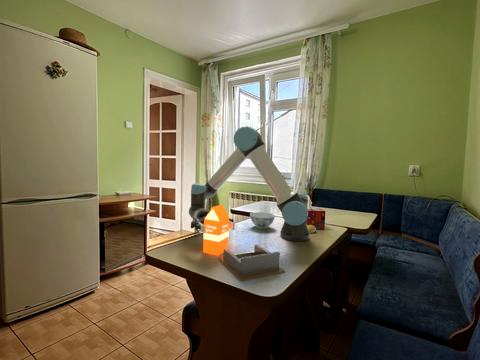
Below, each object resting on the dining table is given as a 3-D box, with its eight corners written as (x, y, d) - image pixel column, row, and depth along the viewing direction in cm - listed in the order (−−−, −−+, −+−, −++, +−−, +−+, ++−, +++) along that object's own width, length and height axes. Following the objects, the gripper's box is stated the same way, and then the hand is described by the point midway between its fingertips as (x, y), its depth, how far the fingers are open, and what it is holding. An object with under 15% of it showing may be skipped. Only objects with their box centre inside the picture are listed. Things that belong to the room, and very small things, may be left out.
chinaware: (278, 226, 155) (278, 214, 154) (268, 232, 142) (268, 218, 141) (256, 222, 163) (256, 211, 162) (245, 227, 150) (245, 215, 149)
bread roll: (302, 228, 154) (302, 222, 154) (317, 231, 149) (317, 224, 149) (297, 231, 147) (298, 224, 147) (312, 234, 142) (313, 227, 142)
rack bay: (218, 259, 101) (218, 242, 100) (256, 253, 109) (257, 237, 108) (240, 281, 83) (241, 261, 82) (284, 272, 91) (285, 254, 91)
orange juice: (202, 252, 108) (204, 206, 106) (213, 246, 116) (214, 203, 114) (218, 255, 104) (220, 208, 103) (228, 249, 112) (230, 205, 111)
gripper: (226, 222, 131) (244, 233, 112) (178, 226, 120) (190, 239, 101) (226, 208, 131) (245, 217, 112) (178, 211, 119) (190, 221, 100)
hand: (219, 228), depth 106 cm, fingers open, 13 cm apart
